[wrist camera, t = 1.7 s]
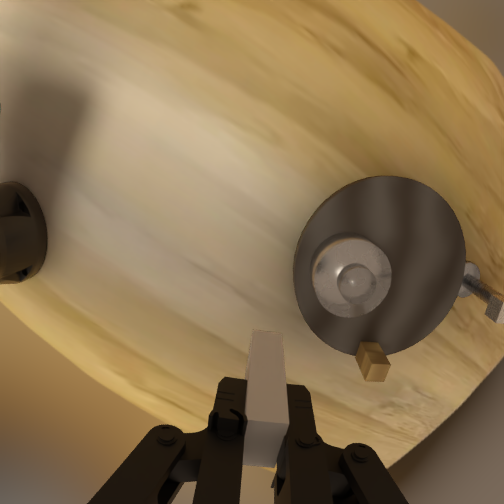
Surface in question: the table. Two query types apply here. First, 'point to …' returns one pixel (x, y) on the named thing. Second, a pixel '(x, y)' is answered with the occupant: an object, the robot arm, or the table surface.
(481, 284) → the dial post
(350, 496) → the robot arm
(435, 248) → the turntable
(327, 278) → the cover
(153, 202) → the table surface
